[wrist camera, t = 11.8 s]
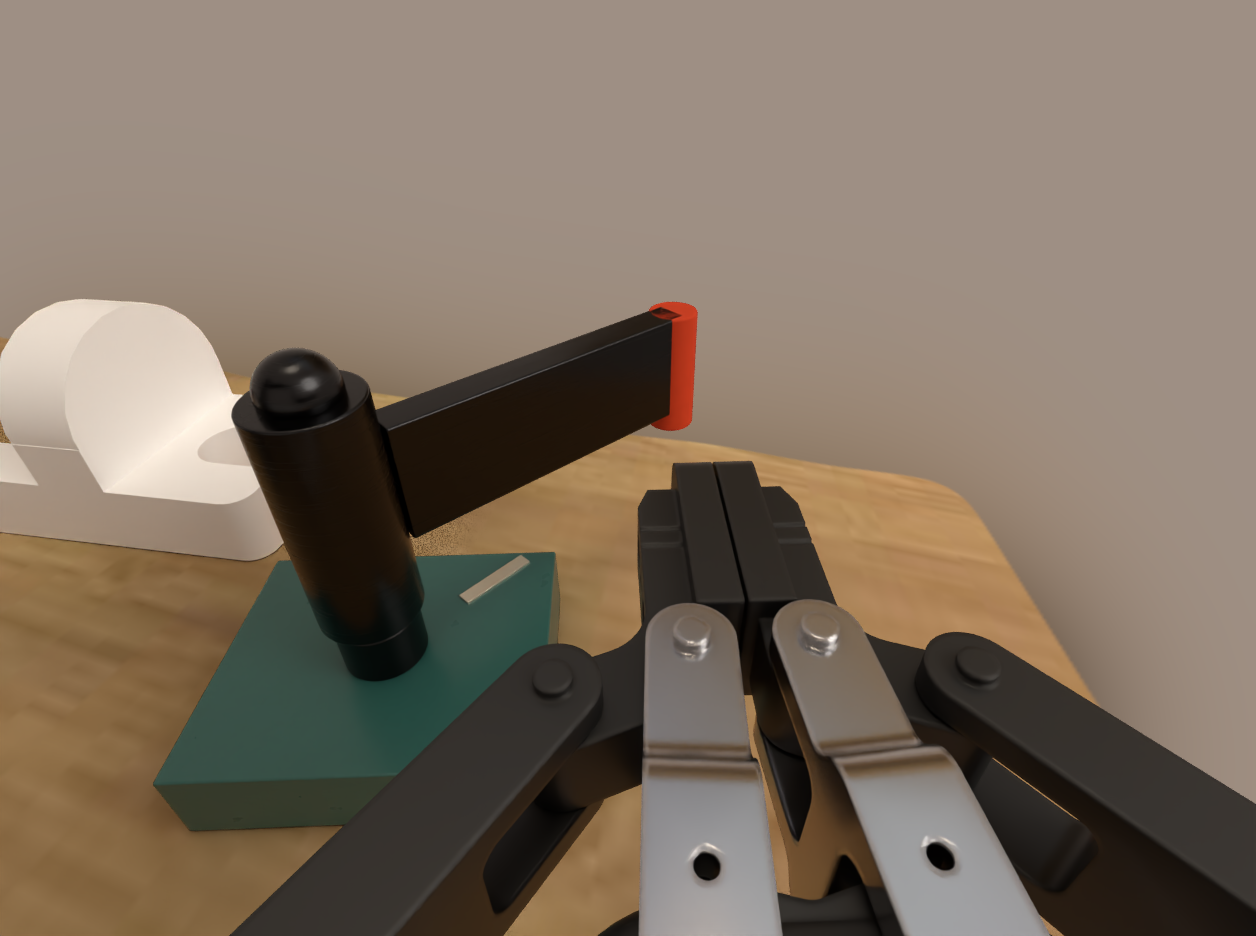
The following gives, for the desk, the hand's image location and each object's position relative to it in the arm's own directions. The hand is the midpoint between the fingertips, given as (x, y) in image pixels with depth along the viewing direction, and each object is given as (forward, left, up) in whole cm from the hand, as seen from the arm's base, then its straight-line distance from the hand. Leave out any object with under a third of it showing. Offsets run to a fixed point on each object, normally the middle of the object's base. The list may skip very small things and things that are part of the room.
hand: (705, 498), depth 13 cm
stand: (-10, +6, -15) cm, 19 cm away
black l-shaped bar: (-5, +11, -10) cm, 15 cm away
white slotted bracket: (-27, +21, -15) cm, 37 cm away
